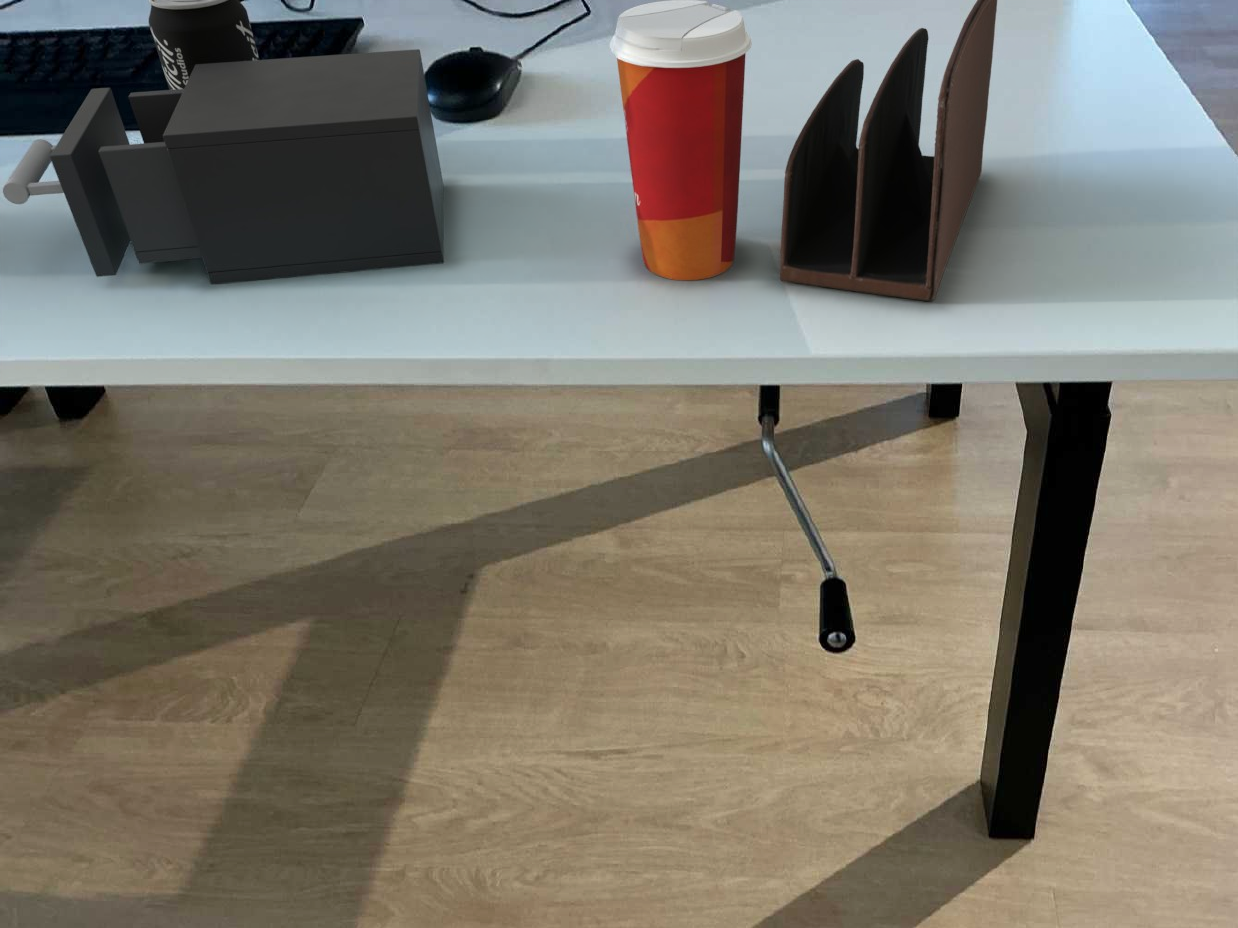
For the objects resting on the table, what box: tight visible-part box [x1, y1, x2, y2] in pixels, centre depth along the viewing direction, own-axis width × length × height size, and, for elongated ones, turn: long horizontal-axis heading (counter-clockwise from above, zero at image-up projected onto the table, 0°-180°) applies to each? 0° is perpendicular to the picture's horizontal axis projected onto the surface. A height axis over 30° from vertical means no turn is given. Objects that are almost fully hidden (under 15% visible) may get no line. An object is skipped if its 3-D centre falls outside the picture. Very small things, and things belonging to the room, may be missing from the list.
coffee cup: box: [609, 0, 753, 281], centre depth 73 cm, size 8×8×15 cm
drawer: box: [1, 87, 202, 278], centre depth 78 cm, size 18×11×8 cm, turn 101°
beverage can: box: [148, 0, 260, 90], centre depth 87 cm, size 7×7×12 cm
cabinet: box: [163, 48, 445, 285], centre depth 79 cm, size 15×13×10 cm
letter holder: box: [778, 0, 998, 302], centre depth 77 cm, size 10×20×14 cm, turn 163°
